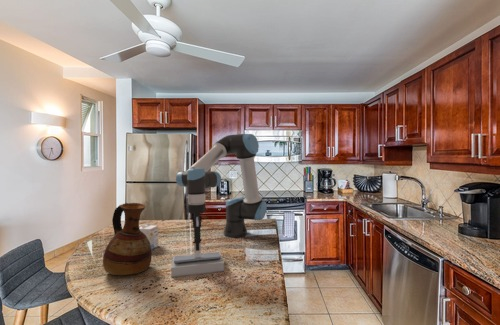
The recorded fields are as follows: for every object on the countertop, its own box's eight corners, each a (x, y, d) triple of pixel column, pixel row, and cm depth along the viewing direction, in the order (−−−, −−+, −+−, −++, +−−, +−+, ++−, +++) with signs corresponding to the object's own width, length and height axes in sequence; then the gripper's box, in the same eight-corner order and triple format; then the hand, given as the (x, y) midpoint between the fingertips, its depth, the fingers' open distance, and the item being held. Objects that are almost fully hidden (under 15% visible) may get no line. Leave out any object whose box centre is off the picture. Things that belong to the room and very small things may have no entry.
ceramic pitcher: (129, 284, 107) (127, 208, 106) (91, 277, 114) (89, 206, 113) (161, 265, 125) (160, 201, 125) (127, 260, 132) (126, 199, 132)
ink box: (150, 250, 146) (149, 226, 145) (136, 249, 147) (135, 225, 147) (158, 245, 154) (158, 222, 154) (145, 244, 156) (144, 221, 155)
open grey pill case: (220, 259, 131) (220, 251, 131) (224, 271, 117) (223, 262, 117) (173, 264, 126) (172, 256, 126) (171, 277, 112) (171, 267, 112)
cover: (218, 254, 127) (218, 252, 127) (220, 258, 119) (220, 256, 119) (174, 258, 122) (174, 256, 123) (173, 262, 115) (173, 260, 115)
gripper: (187, 201, 124) (188, 252, 124) (187, 206, 111) (188, 263, 112) (204, 200, 126) (205, 251, 126) (206, 205, 113) (207, 261, 113)
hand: (197, 256), depth 119 cm, fingers closed
